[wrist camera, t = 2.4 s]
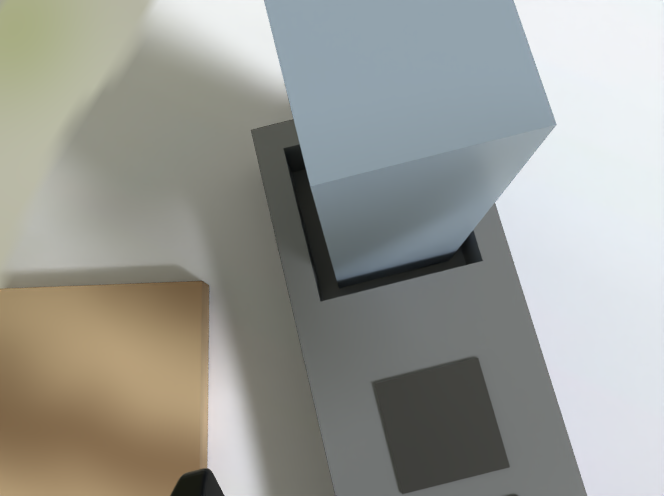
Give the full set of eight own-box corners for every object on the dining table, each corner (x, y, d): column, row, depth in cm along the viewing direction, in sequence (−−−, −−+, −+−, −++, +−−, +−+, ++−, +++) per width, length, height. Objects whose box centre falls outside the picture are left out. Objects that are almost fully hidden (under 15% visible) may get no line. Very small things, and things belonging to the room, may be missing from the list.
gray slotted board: (599, 627, 19) (653, 685, 16) (386, 680, 19) (392, 751, 16) (444, 116, 23) (458, 69, 19) (265, 160, 23) (247, 122, 19)
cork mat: (205, 616, 20) (197, 629, 19) (-118, 621, 20) (-143, 633, 19) (209, 284, 22) (202, 281, 21) (-83, 295, 22) (-103, 292, 21)
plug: (448, 261, 21) (555, 124, 9) (339, 288, 21) (310, 186, 9) (418, 156, 22) (482, -88, 10) (312, 183, 22) (256, -31, 10)
